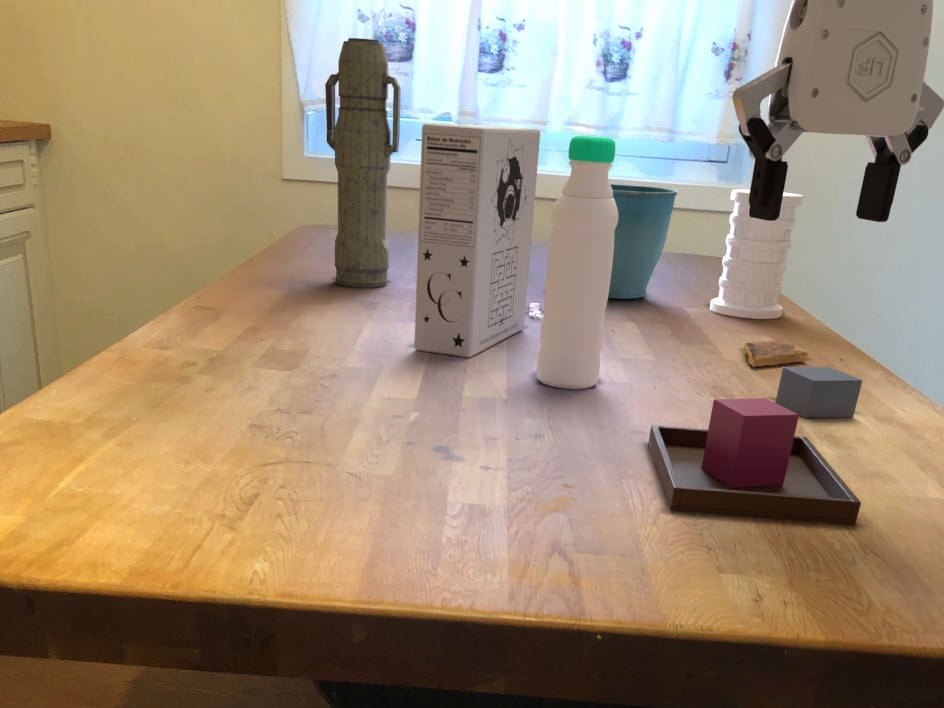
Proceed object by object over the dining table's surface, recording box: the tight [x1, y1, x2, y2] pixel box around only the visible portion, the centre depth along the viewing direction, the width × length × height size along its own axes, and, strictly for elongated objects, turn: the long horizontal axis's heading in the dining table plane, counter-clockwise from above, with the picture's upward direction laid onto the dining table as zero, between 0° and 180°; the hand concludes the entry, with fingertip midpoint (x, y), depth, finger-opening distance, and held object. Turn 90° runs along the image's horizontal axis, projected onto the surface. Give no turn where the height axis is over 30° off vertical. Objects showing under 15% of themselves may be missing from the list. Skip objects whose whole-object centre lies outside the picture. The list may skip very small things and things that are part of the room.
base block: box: [774, 366, 863, 419], centre depth 107 cm, size 6×6×4 cm
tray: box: [647, 424, 862, 526], centre depth 83 cm, size 14×17×2 cm
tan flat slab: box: [743, 339, 809, 368], centre depth 129 cm, size 11×8×2 cm
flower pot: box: [608, 183, 678, 300], centre depth 166 cm, size 18×18×17 cm
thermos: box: [324, 37, 402, 289], centre depth 156 cm, size 9×12×35 cm
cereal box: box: [414, 123, 541, 359], centre depth 124 cm, size 22×8×25 cm, turn 159°
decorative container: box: [709, 188, 804, 320], centre depth 158 cm, size 12×12×18 cm
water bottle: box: [536, 135, 618, 390], centre depth 106 cm, size 7×7×25 cm
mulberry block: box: [702, 397, 800, 488], centre depth 82 cm, size 5×5×6 cm
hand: (817, 219), depth 76 cm, fingers open, 9 cm apart
